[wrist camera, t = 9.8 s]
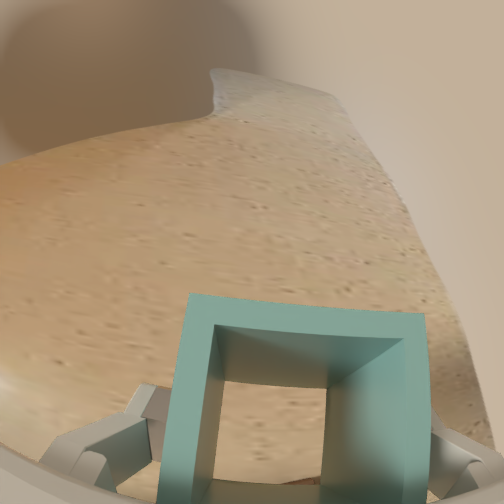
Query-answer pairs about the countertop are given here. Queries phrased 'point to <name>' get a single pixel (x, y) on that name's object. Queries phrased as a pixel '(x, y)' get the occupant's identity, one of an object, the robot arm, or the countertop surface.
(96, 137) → the countertop surface
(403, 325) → the flanged sleeve
